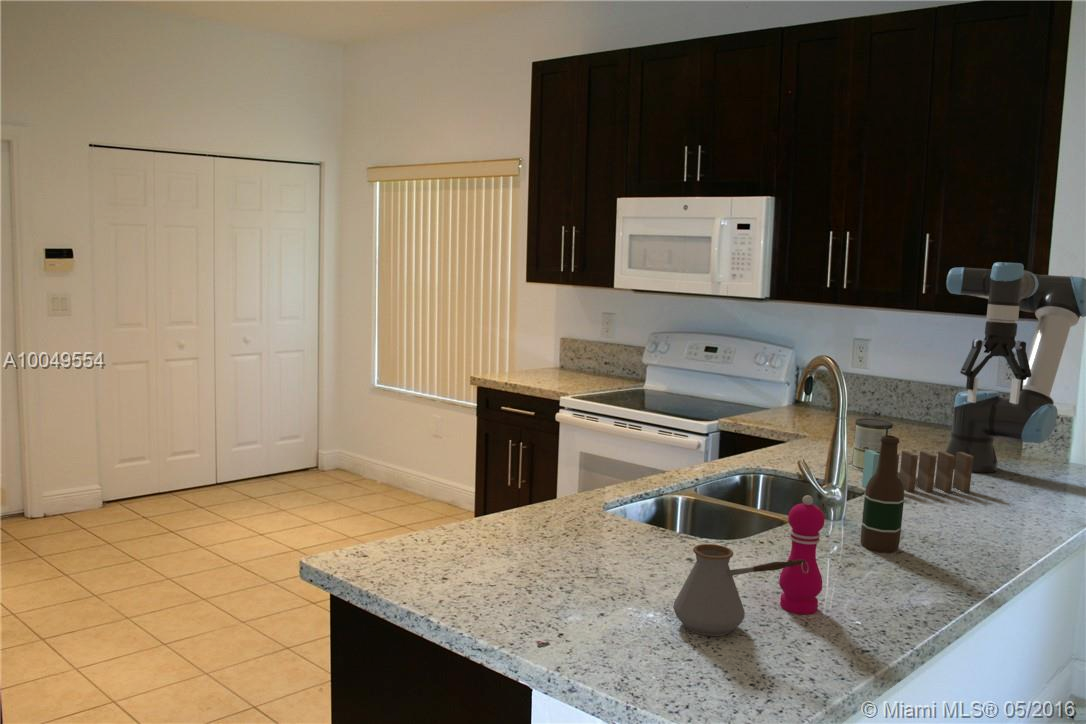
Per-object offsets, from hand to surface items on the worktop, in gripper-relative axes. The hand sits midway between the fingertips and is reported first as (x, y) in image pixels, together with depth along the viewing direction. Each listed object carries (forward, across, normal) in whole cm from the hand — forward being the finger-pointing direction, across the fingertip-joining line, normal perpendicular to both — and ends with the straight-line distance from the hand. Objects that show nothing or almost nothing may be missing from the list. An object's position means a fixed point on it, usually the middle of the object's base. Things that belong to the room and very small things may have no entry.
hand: (992, 402), depth 243 cm
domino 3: (+24, +22, 0) cm, 33 cm away
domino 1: (+24, +32, 0) cm, 40 cm away
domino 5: (+24, +12, 0) cm, 27 cm away
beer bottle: (+24, +53, +47) cm, 75 cm away
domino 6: (+24, +6, 0) cm, 25 cm away
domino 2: (+24, +27, 0) cm, 36 cm away
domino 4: (+24, +17, 0) cm, 29 cm away
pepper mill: (+24, +84, +80) cm, 118 cm away
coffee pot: (+24, +99, +91) cm, 136 cm away
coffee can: (+24, +22, -22) cm, 39 cm away
